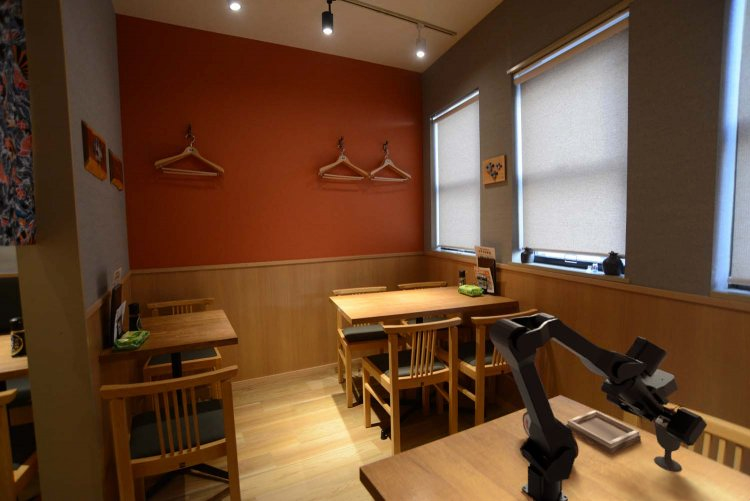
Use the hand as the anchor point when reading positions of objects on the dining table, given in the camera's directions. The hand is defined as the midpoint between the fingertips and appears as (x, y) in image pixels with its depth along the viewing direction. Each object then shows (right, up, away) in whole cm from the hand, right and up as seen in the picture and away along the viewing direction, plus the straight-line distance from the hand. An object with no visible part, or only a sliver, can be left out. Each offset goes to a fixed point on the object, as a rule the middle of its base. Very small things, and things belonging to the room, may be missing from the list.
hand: (670, 429), depth 80 cm
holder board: (-8, -8, +13) cm, 17 cm away
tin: (-25, -9, +7) cm, 27 cm away
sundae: (0, -9, +1) cm, 9 cm away
